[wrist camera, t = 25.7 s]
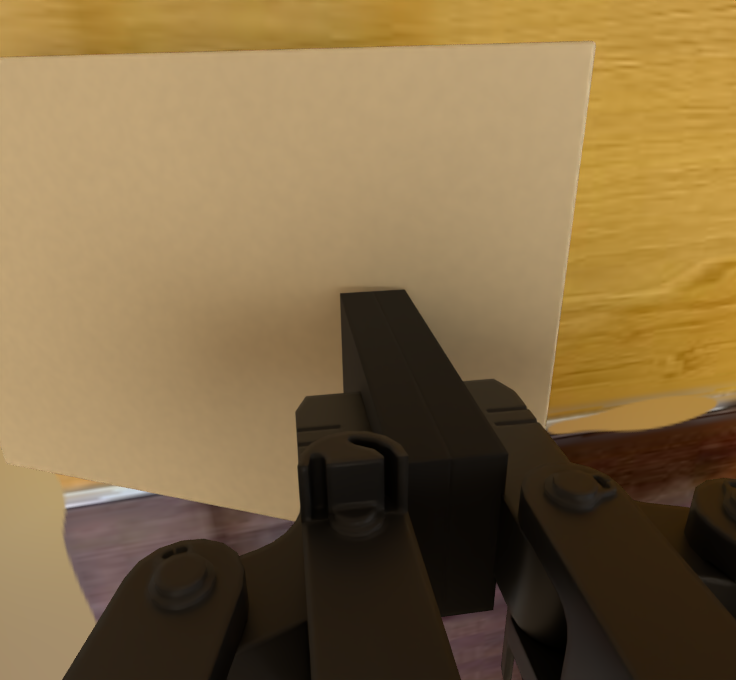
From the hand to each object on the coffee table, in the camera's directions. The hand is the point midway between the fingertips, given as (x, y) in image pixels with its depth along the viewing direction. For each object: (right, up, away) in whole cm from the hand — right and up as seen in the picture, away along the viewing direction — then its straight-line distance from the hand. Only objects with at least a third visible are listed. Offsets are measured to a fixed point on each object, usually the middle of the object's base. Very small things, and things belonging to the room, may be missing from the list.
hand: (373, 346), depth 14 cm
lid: (-4, +1, +2) cm, 5 cm away
